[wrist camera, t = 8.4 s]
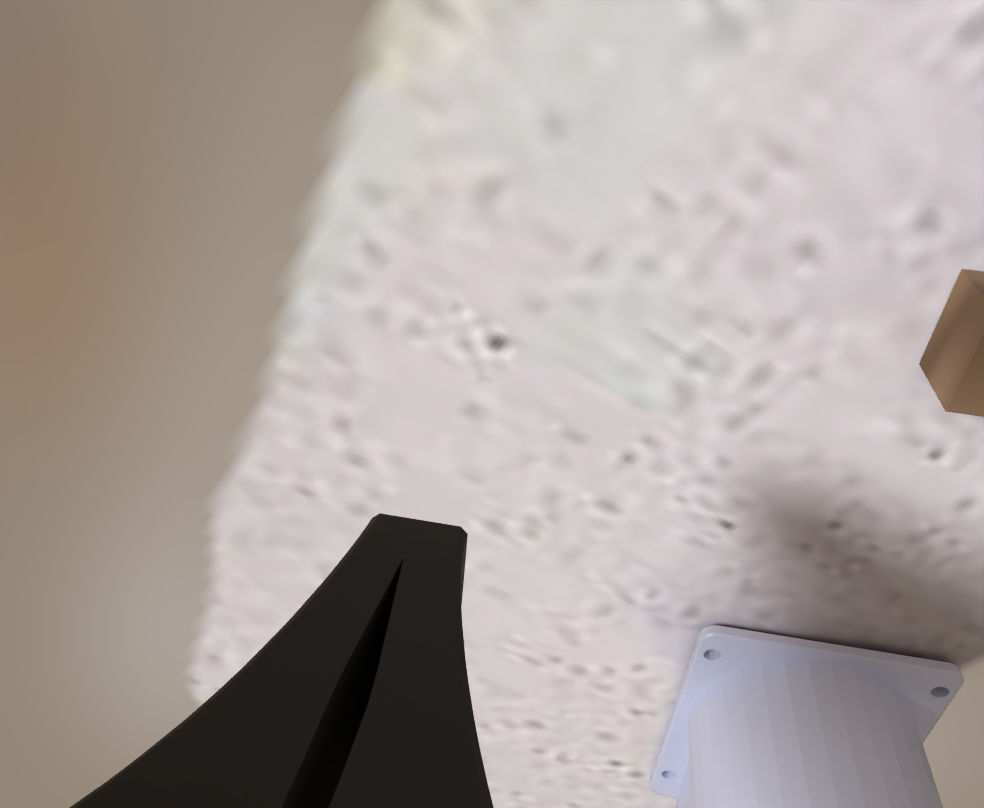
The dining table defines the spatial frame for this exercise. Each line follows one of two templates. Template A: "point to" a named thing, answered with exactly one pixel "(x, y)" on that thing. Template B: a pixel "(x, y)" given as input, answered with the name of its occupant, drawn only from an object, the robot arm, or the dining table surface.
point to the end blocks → (959, 348)
